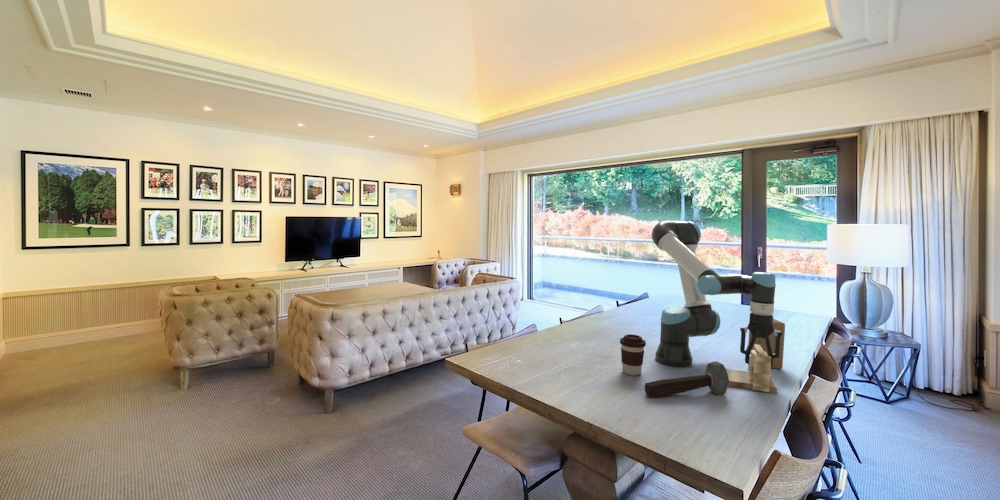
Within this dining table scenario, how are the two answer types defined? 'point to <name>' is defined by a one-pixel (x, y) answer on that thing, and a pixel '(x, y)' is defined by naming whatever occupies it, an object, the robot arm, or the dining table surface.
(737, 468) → the dining table surface
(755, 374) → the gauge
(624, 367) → the coffee cup
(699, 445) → the dining table surface
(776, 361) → the wooden block
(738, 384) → the board
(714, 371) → the hammer
